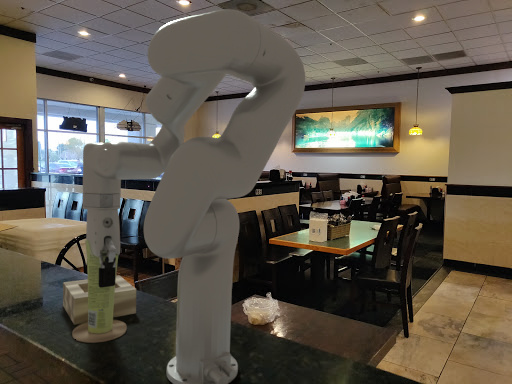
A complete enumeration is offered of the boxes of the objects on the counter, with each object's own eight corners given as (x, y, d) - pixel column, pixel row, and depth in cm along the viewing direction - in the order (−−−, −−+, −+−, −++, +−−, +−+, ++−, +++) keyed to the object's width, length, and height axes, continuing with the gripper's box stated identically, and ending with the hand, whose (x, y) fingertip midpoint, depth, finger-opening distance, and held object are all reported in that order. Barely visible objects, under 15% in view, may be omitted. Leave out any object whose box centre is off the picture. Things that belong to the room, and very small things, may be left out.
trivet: (133, 335, 83) (133, 332, 83) (78, 347, 77) (78, 344, 77) (118, 318, 92) (118, 315, 92) (67, 327, 86) (67, 325, 86)
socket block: (135, 313, 96) (136, 289, 95) (74, 324, 87) (74, 298, 87) (119, 296, 107) (119, 275, 107) (63, 305, 99) (63, 282, 98)
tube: (110, 322, 88) (111, 237, 87) (119, 330, 84) (120, 241, 83) (84, 328, 84) (85, 239, 83) (92, 337, 81) (93, 243, 79)
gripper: (132, 205, 78) (131, 288, 79) (108, 197, 92) (107, 269, 93) (93, 206, 74) (92, 294, 75) (74, 198, 88) (73, 273, 89)
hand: (100, 280), depth 84 cm, fingers open, 9 cm apart
